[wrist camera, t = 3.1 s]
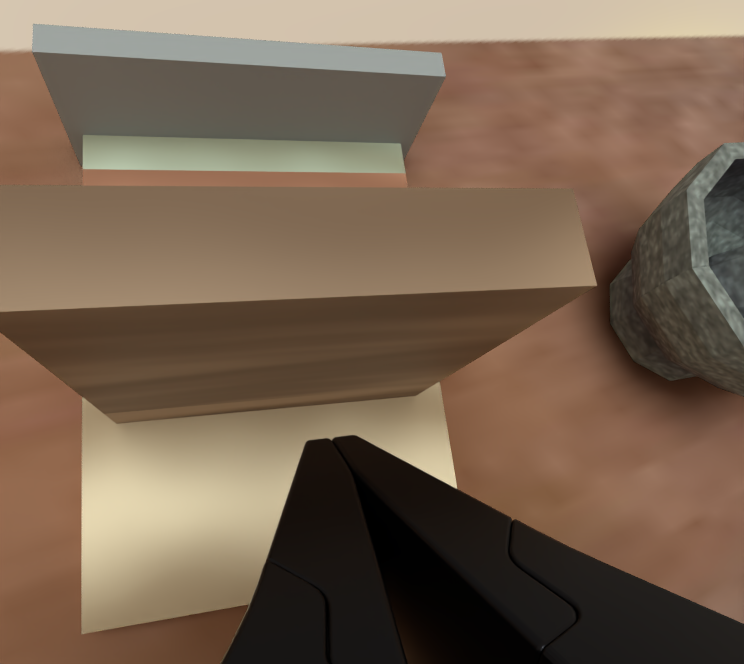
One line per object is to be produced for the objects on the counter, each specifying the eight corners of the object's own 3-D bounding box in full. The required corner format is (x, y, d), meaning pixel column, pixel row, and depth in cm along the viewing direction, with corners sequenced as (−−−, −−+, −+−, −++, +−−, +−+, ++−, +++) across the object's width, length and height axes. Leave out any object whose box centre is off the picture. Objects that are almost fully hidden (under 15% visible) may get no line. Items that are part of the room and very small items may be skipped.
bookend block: (415, 396, 21) (597, 285, 11) (116, 423, 18) (-25, 313, 8) (396, 267, 22) (540, 59, 12) (114, 276, 20) (-9, 20, 9)
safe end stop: (398, 170, 26) (445, 76, 20) (80, 165, 22) (32, 51, 17) (395, 150, 26) (441, 52, 21) (80, 143, 23) (33, 23, 17)
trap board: (448, 560, 21) (469, 565, 20) (96, 621, 18) (81, 634, 16) (387, 170, 26) (400, 143, 24) (94, 165, 23) (82, 134, 21)
